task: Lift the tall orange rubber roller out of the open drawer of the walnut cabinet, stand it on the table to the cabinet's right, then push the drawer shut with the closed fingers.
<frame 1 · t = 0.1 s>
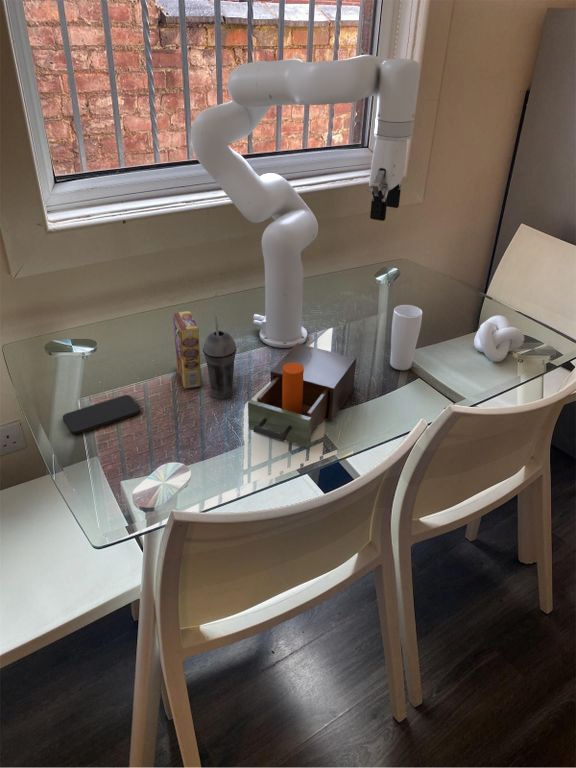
hand: (384, 213, 131), 37 cm above the table, tool pointing down, fingers open, 9 cm apart
white knot sculpture: (491, 352, 154), on the table
cabinet: (312, 396, 136), on the table
drinking glass: (400, 366, 148), on the table
phone: (102, 416, 129), on the table
drawer: (286, 414, 124), point 4 cm above the table, slide at 10.0 cm, touching roller
roller: (291, 416, 127), point 2 cm above the table, touching drawer
beverage cup: (222, 393, 137), on the table
candy box: (189, 378, 142), on the table
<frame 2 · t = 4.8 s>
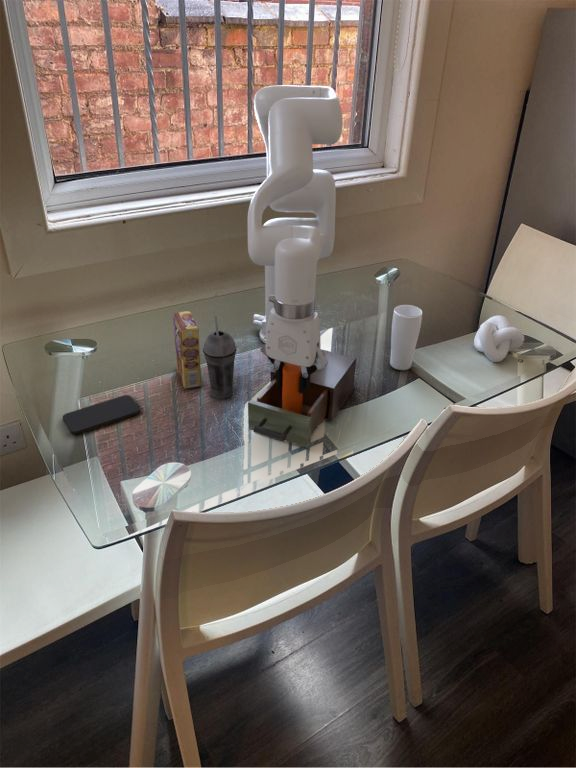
hand: (292, 386, 123), 10 cm above the table, tool pointing down, fingers closed on roller, 4 cm apart
roller: (291, 416, 127), point 2 cm above the table, touching drawer, gripper
everything else where it was.
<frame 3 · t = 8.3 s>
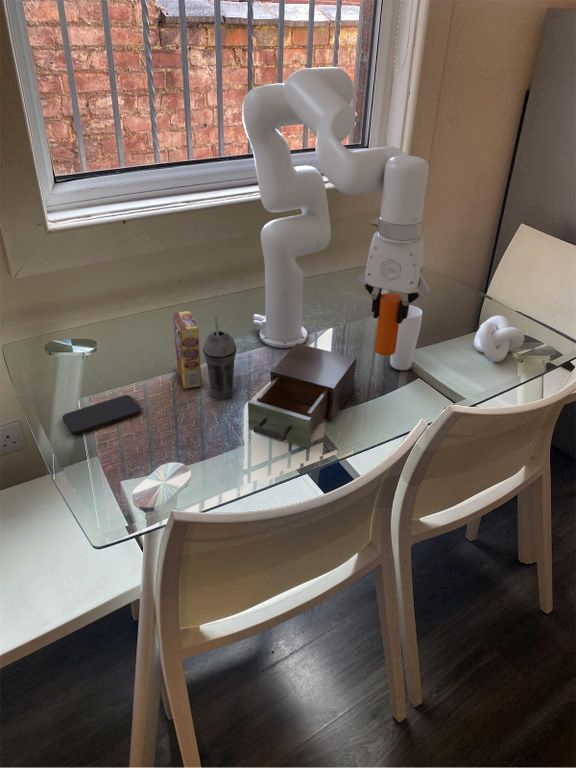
hand: (389, 317, 120), 23 cm above the table, tool pointing down, fingers closed on roller, 4 cm apart
drawer: (286, 414, 124), point 4 cm above the table, slide at 10.0 cm
roller: (385, 350, 124), point 15 cm above the table, touching gripper
everything else where it was.
when the fingers open (8 cm above the table, at t = 11.9 s): roller stays where it is, on the table.
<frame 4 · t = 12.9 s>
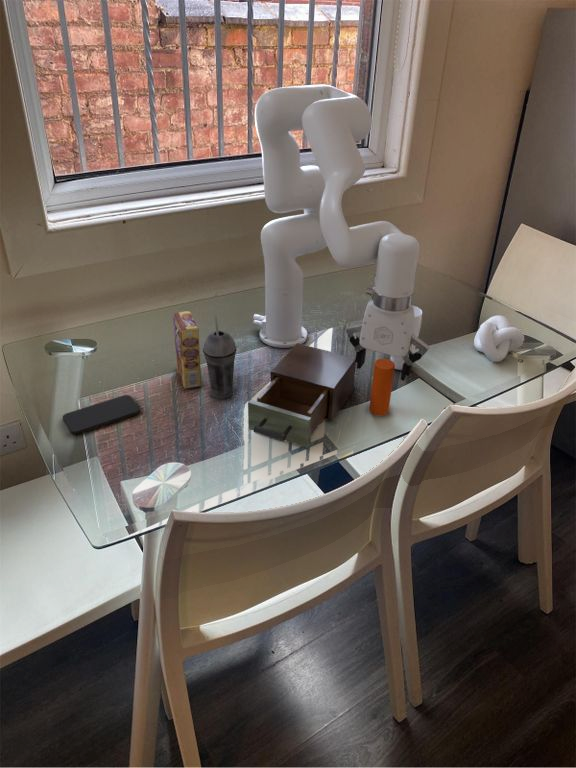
hand: (382, 371, 128), 10 cm above the table, tool pointing down, fingers open, 9 cm apart
roller: (378, 410, 133), on the table
everything else where it was.
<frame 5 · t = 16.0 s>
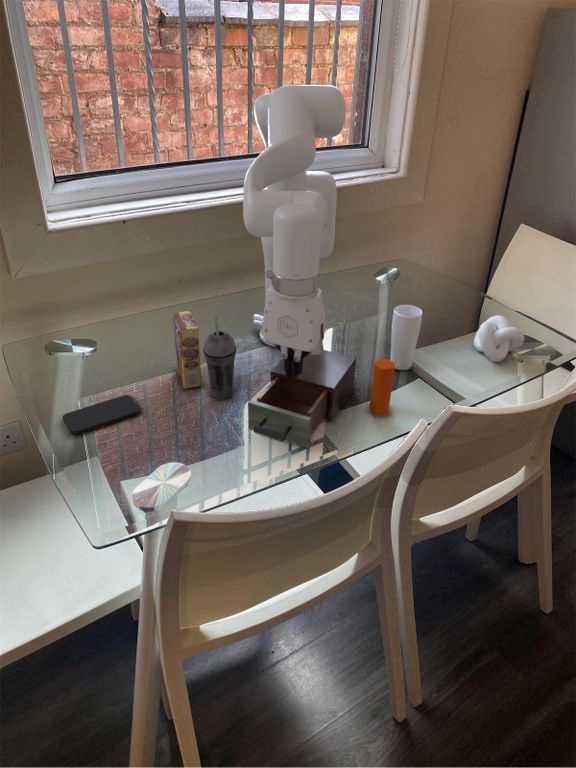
hand: (293, 375, 109), 19 cm above the table, tool pointing down, fingers closed
nothing on the table moved.
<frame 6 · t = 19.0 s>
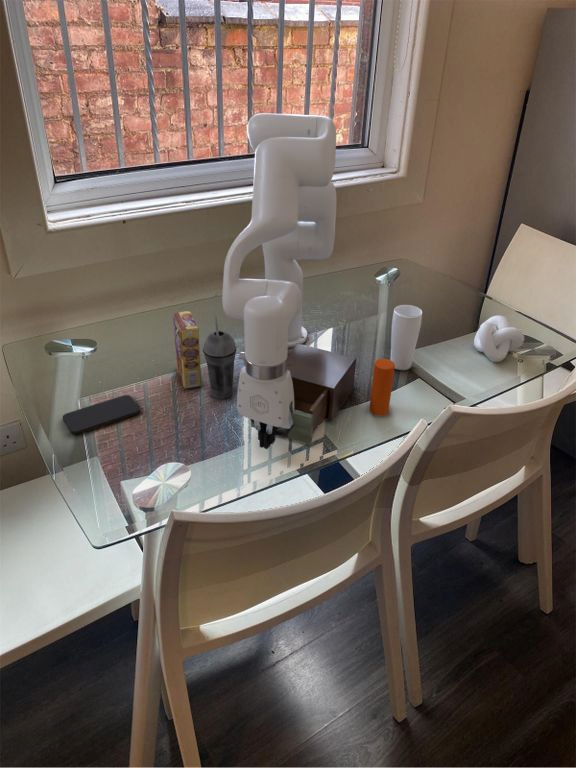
hand: (266, 444, 117), 3 cm above the table, tool pointing down, fingers closed
drawer: (288, 411, 124), point 4 cm above the table, slide at 9.1 cm, touching gripper
everything else where it was.
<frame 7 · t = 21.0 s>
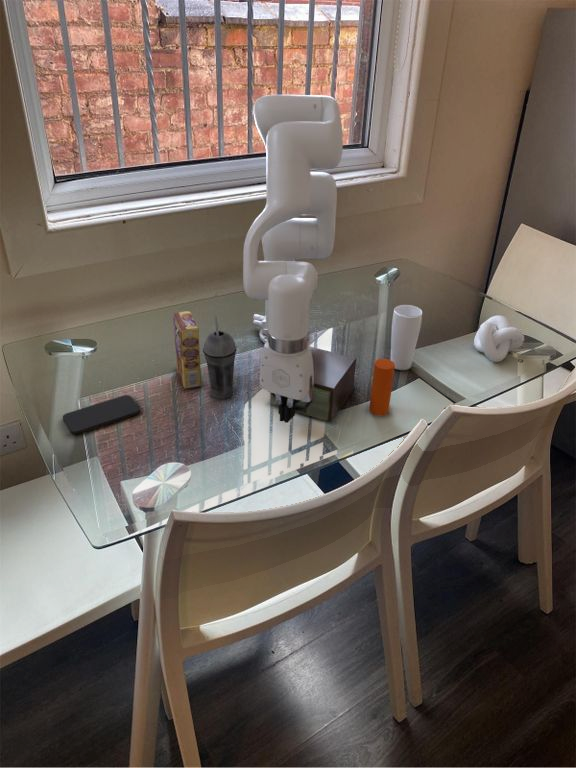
hand: (286, 418, 124), 3 cm above the table, tool pointing down, fingers closed
drawer: (306, 389, 131), point 4 cm above the table, slide at 0.0 cm, touching cabinet, gripper
everything else where it was.
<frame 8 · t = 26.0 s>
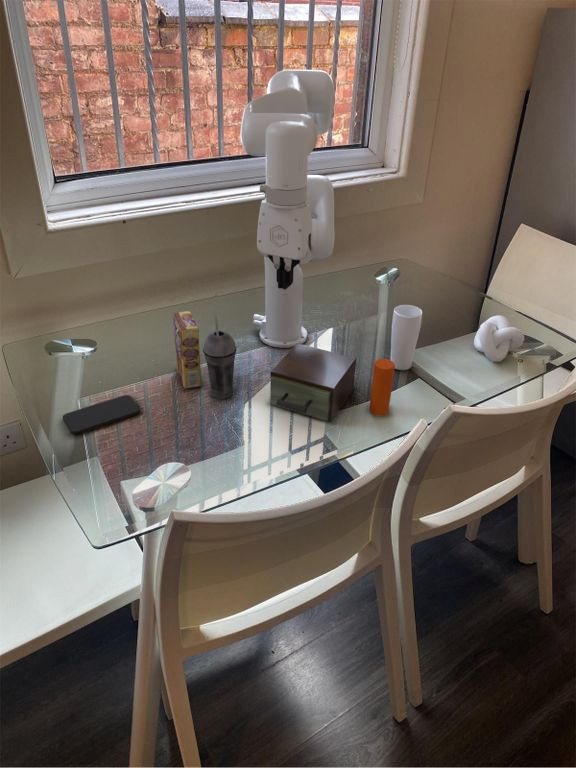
hand: (284, 286, 121), 27 cm above the table, tool pointing down, fingers closed
drawer: (306, 389, 131), point 4 cm above the table, slide at 0.0 cm, touching cabinet
everything else where it was.
at the end: roller inside the target area (0.1 cm from its centre), on the table; roller tilted 0°; drawer slide at 0.0 cm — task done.
